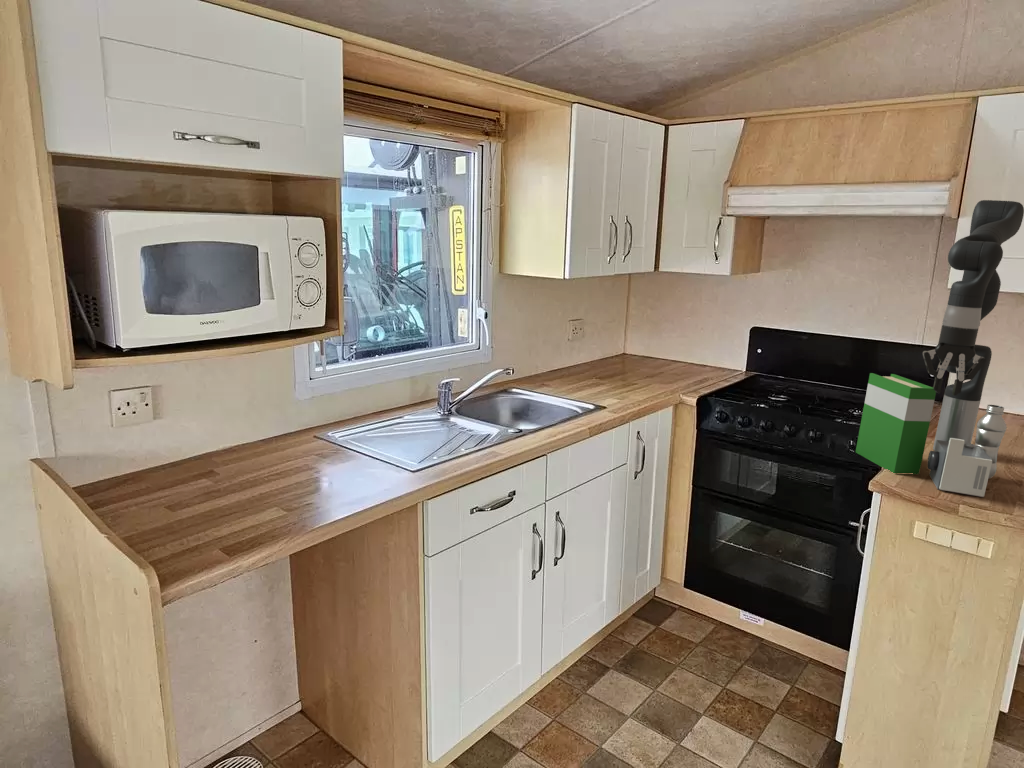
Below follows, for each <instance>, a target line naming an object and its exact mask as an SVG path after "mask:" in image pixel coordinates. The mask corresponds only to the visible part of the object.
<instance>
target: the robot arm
mask: <svg viewBox="0 0 1024 768" xmlns="http://www.w3.org/2000/svg"><path fill="white" fill-rule="evenodd" d="M1023 220H1024V205H1023V204H1022V203H1021V202H1018V201H1014V200H992V199H990V200H989V199H984V200H980V201H978V202H976V204H975V206H974V209H973V211H972V216H971V221H970V227H969V228H970V229H969V235H967V236H964V237H962V238H960V239H958V240H957V241H956V242H954V244H953V245H952V246H951V248H950V249H949V250H948V255H947V262H948V264H949V266H950V267H951V268H952V269H954V270H957V271H963V274H962V279H961V280H958V281H954V282H953V283H952V284H951V287H950V291H949V296H948V301H947V305H946V309H945V311H944V314H943V319H942V322H941V323H942V324H941V329H940V334H939V337H938V338H939V339H938V342H937V343H938V344H937V345H936V346H935V348H933V349H930V350H923V351H922V353H921V354H922V357H923V360H924V365H925V367H926V368H925V369H926V371H927V373H928V374H929V375H930V376H933V377H934V382H933V386H932V387H933V389H934V390H935V392H936V394H941V390H942V386H943V381H944V379H943V376H944V374H945V372H946V371H947V372H948V373H952V374H956V375H955V377H956V379H954V383H952V384H949V385H946V387H945V389H944V394H943V399H942V404H941V409H940V413H939V419H938V422H937V423H938V424H937V427H936V432H935V436H934V442H933V446H932V450H933V451H934V450H935V445H936V440H942V441H949V440H950V438H955V439H962V440H964V441H965V442H964V444H966V443H970V444H972V440H973V436H974V432H975V428H976V424H977V419H978V414H979V408H980V404H981V401H982V400H981V399H982V395H983V390H984V385H985V381H986V378H987V375H988V371H989V367H990V364H991V360H992V355H993V353H992V352H993V351H992V348H991V347H990V346H987V345H981V344H976V341H977V337H978V333H979V328H980V326H981V321H983V320H984V318H986V317H987V316H988V315H989V314H990V313H991V312H992V311H993V310H994V309H995V308H996V306H997V304H998V300H999V295H1000V290H1001V285H1002V281H1001V278H1000V275H999V274H998V271H997V268H998V267H999V265H1000V264H1001V261H1002V259H1003V255H1004V249H1003V248H1002V244H1003V243H1005V242H1007V241H1008V240H1010V239H1011V238H1013V237H1014V236H1015V235H1016V234H1017V233H1018V232H1019V230H1020V228H1021V227H1022V222H1023ZM935 355H936V356H937V358H938V360H939V363H938V365H937V369H936V370H935V369H934V365H933V361H932V360H933V359H934V358H935Z"/></svg>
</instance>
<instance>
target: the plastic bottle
mask: <svg viewBox="0 0 1024 768" xmlns="http://www.w3.org/2000/svg"><path fill="white" fill-rule="evenodd" d="M986 406H987V407H986V409H985V412H986V414H984V415H983V416H981V417H980V418H979V419H978V420H977V421H976V431H975V432H976V433H975V441H974V445H976V446H980V447H981V448H982V449H983V450H984V451H985V452H986V453H987V454H988V456H989V457H990V458H991V459H992V465H991V469H990V473H989V478H988V479H992V478H993V477H994V476H995V474H996V472H997V467H998V465H997V460H998V453H999V450H1000V446H1001V443H1002V441H1003V439H1004V436H1005V433H1006V431H1007V428H1008V427H1007V423H1006V422H1005V419H1004V418H1003V415H1004V414H1005V413H1004V412H1005V411H1004V410H1005V407H1004V406H1001V405H997V404H987V405H986Z"/></svg>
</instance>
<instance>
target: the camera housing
mask: <svg viewBox="0 0 1024 768" xmlns="http://www.w3.org/2000/svg"><path fill="white" fill-rule="evenodd" d="M948 445H949V441H942V440H936V445H935V450H934V449H933V450H930V451H929V452H928V456H927V464H926V465H927V470H929V474H928V475H929V477H930V478H931V481H932V482H933V484H934V485H935V487H936V489H937V490H939V491H940V489H939V486H940V482H941V477H942V473H943V468H944V463H945V459H946V454H947V450H948ZM962 455H964V456H971V457H977V458H984V459H990V460H992V459H991V458H990V457H989V456H988V454H987V453H986V452H985V451H984V450H983V449H982V448H981V447H980V446H976V445H975V443H974V444H973V443H971V444H970V443H966V444H964V447H963V451H962ZM943 491H946V490H943ZM949 492H950V493H953V492H952V491H949ZM955 493H957V494H959V493H958V492H955ZM961 494H962V495H965V494H964V493H961ZM968 495H969V496H971V495H970V494H967V496H968ZM974 496H976V495H973V497H974ZM976 497H977V496H976ZM979 497H980V498H983V497H982V496H979Z"/></svg>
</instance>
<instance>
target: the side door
mask: <svg viewBox="0 0 1024 768" xmlns="http://www.w3.org/2000/svg"><path fill="white" fill-rule="evenodd" d="M964 442H965V441H964V440H962V439H955V438H950V440H949V445H948V450H947V454H946V459H945V463H944V468H943V473H942V477H941V482H940V486H939V489H940V490H941V491H944V490H946V491H947V492H950V491H952V492H951V493H956V492H958V493H957V494H962V493H964V494H963V495H968V494H970V495H969V496H974V495H976V497H980V496H982V497H981V498H985V495H986V489H987V487H988V481H989V479H990V478H989V473H990V469H991V465H992V460H990V459H984V458H977V457H971V456H964V455H962V451H963V447H964ZM939 489H938V490H939ZM940 490H939V491H940Z"/></svg>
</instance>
